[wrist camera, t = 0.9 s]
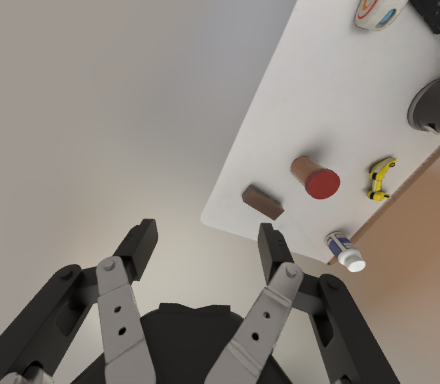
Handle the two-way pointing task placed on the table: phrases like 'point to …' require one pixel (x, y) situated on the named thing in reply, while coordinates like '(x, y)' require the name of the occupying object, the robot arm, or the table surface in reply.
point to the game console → (429, 12)
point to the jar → (303, 168)
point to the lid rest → (262, 202)
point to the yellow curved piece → (379, 178)
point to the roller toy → (378, 13)
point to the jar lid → (322, 183)
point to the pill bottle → (345, 251)
